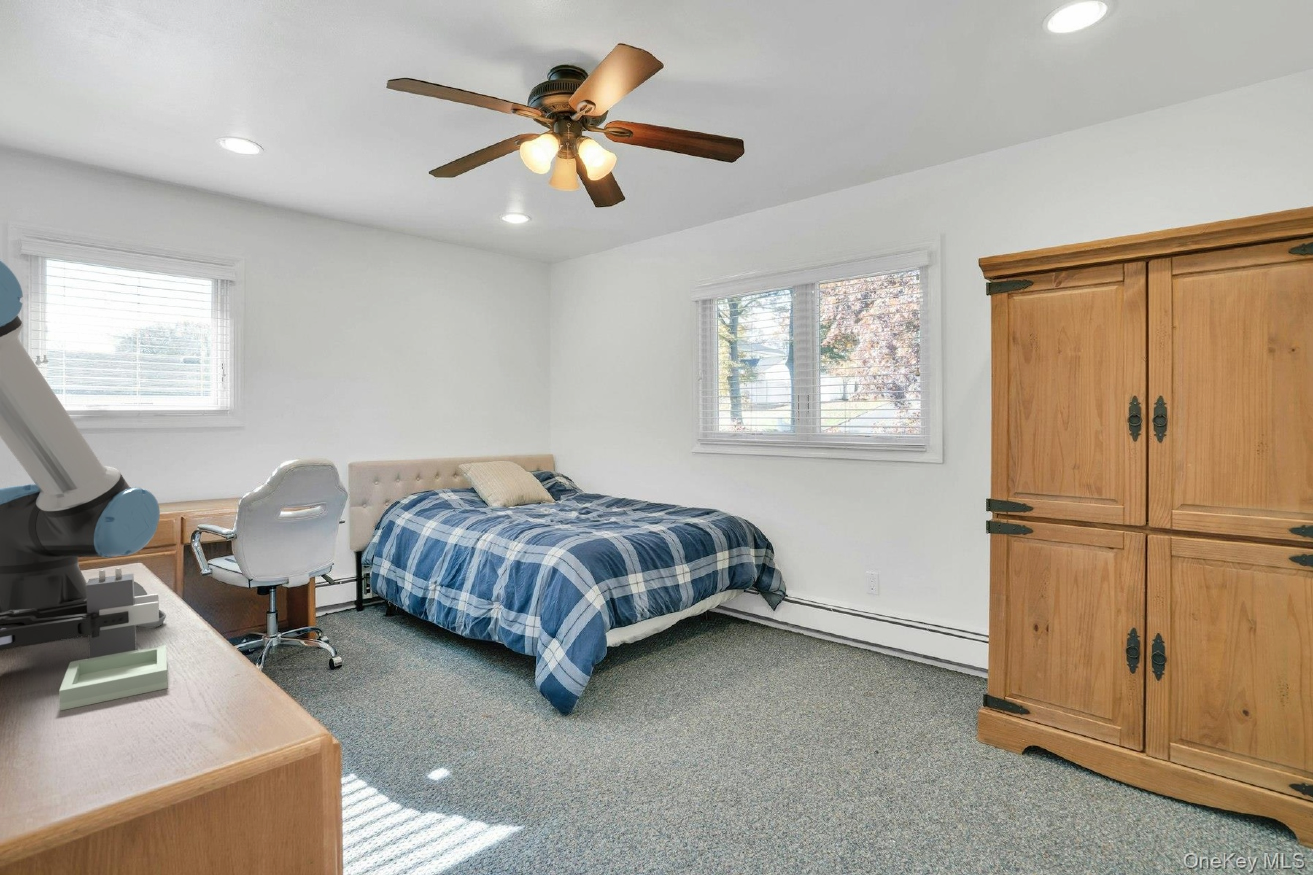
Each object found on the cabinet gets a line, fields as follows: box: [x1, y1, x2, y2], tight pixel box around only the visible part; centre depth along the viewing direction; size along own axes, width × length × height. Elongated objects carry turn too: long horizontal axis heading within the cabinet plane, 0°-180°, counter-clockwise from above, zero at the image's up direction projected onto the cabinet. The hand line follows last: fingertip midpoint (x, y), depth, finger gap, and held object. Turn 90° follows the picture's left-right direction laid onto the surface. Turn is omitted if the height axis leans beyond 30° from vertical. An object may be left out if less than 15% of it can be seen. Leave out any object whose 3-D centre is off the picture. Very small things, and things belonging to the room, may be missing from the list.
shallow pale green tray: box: [58, 644, 169, 712], centre depth 85 cm, size 12×10×2 cm
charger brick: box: [86, 567, 138, 659], centre depth 95 cm, size 5×5×12 cm
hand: (158, 606), depth 98 cm, fingers closed on charger brick, 5 cm apart
